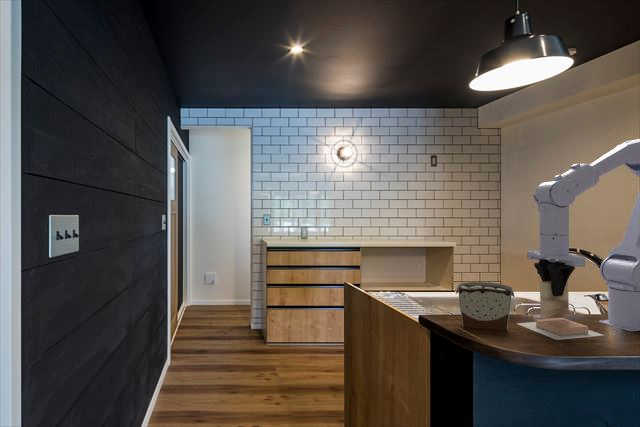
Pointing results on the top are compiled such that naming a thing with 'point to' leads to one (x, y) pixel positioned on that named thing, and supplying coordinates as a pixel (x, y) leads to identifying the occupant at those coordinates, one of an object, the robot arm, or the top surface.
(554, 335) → the mat
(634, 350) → the top surface
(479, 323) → the food container
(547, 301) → the beige upright block
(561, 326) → the tile
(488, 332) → the top surface
